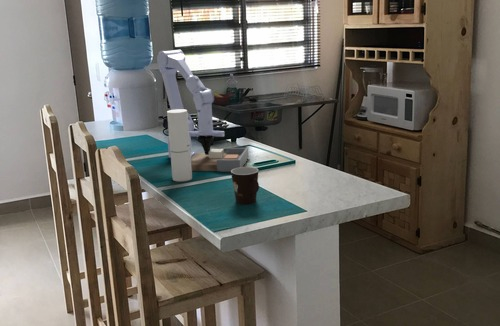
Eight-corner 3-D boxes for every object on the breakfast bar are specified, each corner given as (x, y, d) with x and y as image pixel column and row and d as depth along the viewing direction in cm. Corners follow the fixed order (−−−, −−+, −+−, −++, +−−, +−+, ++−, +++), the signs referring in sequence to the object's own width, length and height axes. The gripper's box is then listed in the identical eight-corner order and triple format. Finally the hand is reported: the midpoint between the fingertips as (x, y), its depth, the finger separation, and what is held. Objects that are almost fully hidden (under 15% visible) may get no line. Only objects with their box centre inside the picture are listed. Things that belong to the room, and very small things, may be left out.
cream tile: (209, 158, 212) (208, 152, 212) (211, 154, 217) (211, 148, 216) (221, 158, 211) (220, 152, 211) (224, 154, 216) (223, 148, 215)
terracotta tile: (224, 164, 205) (223, 158, 204) (226, 160, 209) (225, 154, 209) (237, 164, 204) (236, 157, 203) (238, 160, 209) (238, 154, 208)
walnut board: (184, 170, 206) (184, 164, 205) (196, 158, 222) (195, 152, 221) (217, 170, 203) (217, 164, 203) (227, 158, 220) (226, 153, 219)
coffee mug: (231, 197, 174) (230, 167, 171) (258, 195, 174) (257, 166, 172) (233, 209, 162) (232, 178, 160) (262, 207, 163) (260, 176, 160)
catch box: (217, 171, 203) (216, 160, 202) (227, 158, 220) (226, 147, 219) (240, 171, 201) (239, 160, 200) (248, 158, 219) (248, 147, 218)
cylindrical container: (195, 176, 198) (191, 109, 191) (185, 182, 191) (180, 113, 185) (179, 174, 200) (174, 108, 194) (168, 180, 194) (163, 112, 187)
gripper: (184, 122, 208) (187, 156, 212) (220, 122, 206) (222, 156, 209) (189, 119, 215) (191, 152, 219) (224, 119, 213) (226, 152, 216)
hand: (207, 154), depth 215 cm, fingers closed
